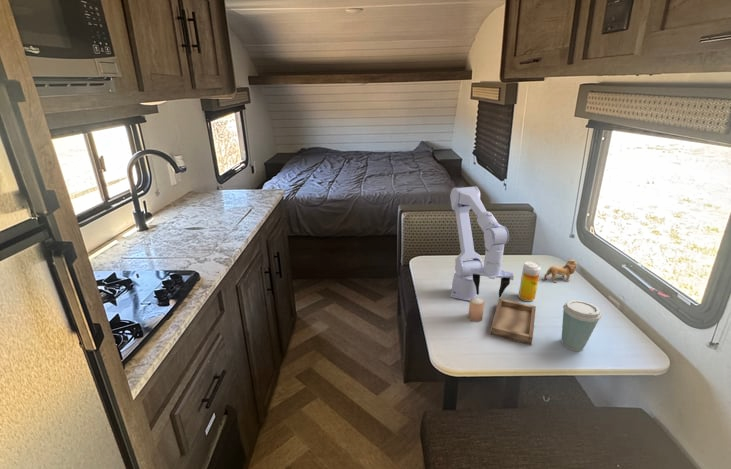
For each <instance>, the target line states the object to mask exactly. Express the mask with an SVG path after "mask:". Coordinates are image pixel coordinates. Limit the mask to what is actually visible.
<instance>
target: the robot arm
mask: <svg viewBox="0 0 731 469" xmlns="http://www.w3.org/2000/svg"><path fill="white" fill-rule="evenodd" d="M449 197H450V198H449V199H450V206H451V209H452V210H453V211H455V219H456V226H457V233H458V241H459V246H460V253H459V254H458V255H457V256H456V257H455V259H454V260H455V262H454V264H455V265H454V271H455V273H454V275H453V277H452V284H451V294H450V297H451V298H455V299H458V300H463V301H466V302H470V299H471V298H478V295H479V294H480V282H481V277H487V278H488V279H491V280H495V279H498V278H499V279H500V286H499V290H498V298H502V296H503V294H504V292H505V290H506V288H507V287H508V286H510V284H511V281H514V278H515V277H514V276H515V274H514V272H510V271H507V270H502V263H503V258H504V249H505V244H507V243H509V241H510V232H509V229H508V228H507V227H506V226H503V225H502V224H500V223H499V222H498V220H497V219H496V218H495V216H494V215H493V213H492V212H490V211H487V209H486V208H485V205H484V203H483V202H482V200H481V191H480V189H479V187H478V186H476V185H475V186H467V187H463V186H462V187H453V188H452V189H451V190H450V195H449ZM470 210H472V211H473V213H474V214H475V215H476V217H477V218H476V223H478V225H479V227H480V229H481V231H482V232H483V239H484V248H485V252H484V253H485V255H484V260H482V256H481V255H480V254H479V253H477V252H476V251H475V247H474V239H473V232H472V226H471V219H470ZM483 261H484V262H483Z"/></svg>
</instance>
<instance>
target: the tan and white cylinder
mask: <svg viewBox="0 0 731 469" xmlns="http://www.w3.org/2000/svg"><path fill="white" fill-rule="evenodd" d="M484 308H485V301H484V300H483V299H482V298H481V297H477V298H471V299H470V301H469V306H468V313H467V316H468V319H469V320H470V321H471V322H475V323H479V322H482V321H483V318H484V317H483V316H484Z"/></svg>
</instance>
